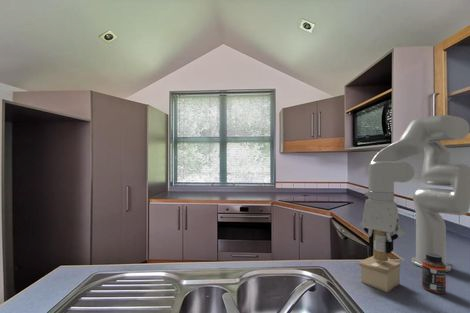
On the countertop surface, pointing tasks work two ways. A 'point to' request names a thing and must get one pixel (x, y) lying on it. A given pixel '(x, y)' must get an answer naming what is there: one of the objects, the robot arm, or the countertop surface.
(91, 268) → the countertop surface
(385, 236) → the sprinkles bottle
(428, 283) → the supplement bottle
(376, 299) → the countertop surface
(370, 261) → the lid
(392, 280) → the box
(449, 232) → the countertop surface
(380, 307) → the countertop surface
